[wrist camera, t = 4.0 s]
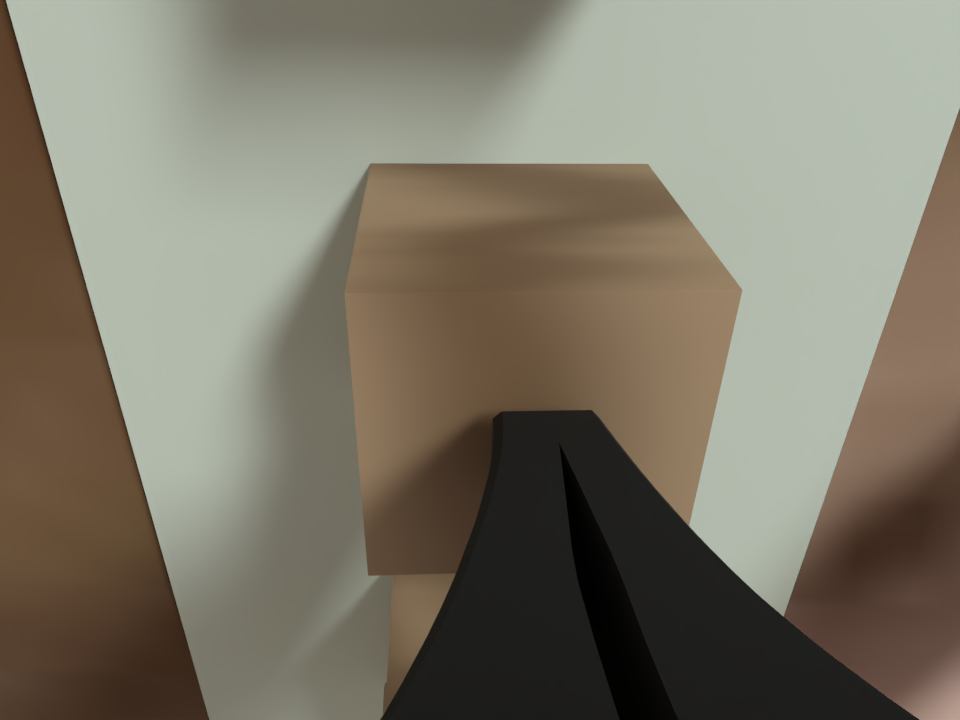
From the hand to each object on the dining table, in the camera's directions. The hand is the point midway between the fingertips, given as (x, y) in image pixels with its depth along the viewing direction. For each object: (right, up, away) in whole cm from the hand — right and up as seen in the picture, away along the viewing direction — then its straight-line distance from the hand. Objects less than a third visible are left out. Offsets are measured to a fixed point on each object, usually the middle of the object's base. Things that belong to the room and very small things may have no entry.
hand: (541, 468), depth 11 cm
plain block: (0, +3, +5) cm, 5 cm away
